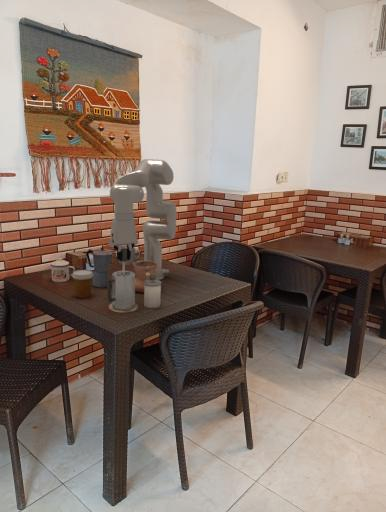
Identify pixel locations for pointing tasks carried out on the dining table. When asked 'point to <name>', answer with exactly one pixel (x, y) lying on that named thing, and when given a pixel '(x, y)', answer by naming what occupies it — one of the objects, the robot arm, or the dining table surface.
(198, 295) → the dining table surface
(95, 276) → the moka pot
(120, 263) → the coffee mug
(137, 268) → the ceramic jug
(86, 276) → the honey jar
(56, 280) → the teacup with lid
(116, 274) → the steel press
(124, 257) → the plunger
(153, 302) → the cream press
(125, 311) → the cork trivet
